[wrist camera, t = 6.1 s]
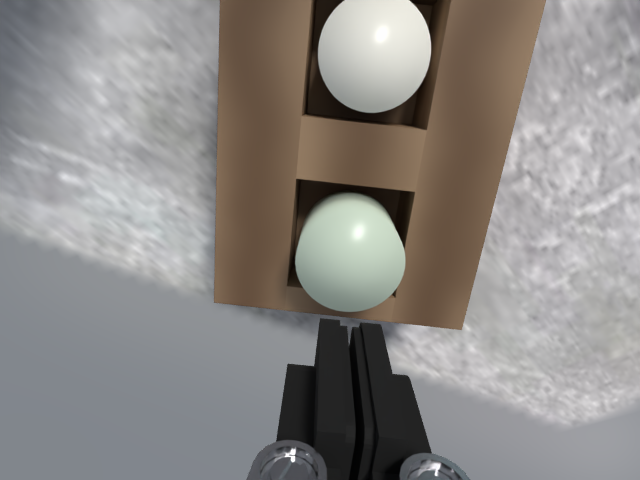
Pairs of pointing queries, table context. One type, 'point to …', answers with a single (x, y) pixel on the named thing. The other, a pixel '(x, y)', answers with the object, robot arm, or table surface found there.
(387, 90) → the ivory button
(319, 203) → the sage button
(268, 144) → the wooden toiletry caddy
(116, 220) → the table surface
